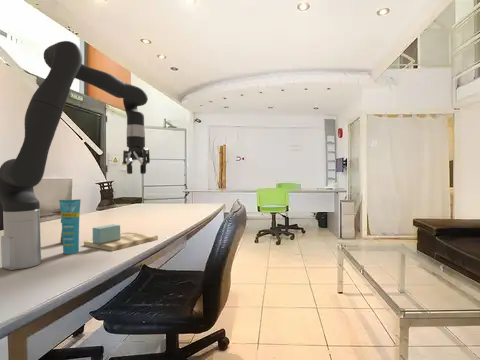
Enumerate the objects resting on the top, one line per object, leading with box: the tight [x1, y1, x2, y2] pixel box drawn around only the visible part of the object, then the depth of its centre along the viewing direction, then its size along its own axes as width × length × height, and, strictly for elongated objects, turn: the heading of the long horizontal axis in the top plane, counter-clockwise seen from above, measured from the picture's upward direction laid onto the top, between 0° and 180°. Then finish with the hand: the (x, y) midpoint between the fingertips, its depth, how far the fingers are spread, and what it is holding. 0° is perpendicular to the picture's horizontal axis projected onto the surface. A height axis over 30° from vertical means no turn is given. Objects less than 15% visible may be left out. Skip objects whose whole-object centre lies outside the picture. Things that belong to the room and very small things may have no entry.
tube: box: [58, 198, 82, 255], centre depth 109 cm, size 7×5×19 cm, turn 98°
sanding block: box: [92, 224, 121, 245], centre depth 119 cm, size 9×4×6 cm, turn 149°
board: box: [83, 231, 159, 252], centre depth 125 cm, size 22×18×2 cm
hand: (136, 173), depth 131 cm, fingers open, 8 cm apart
